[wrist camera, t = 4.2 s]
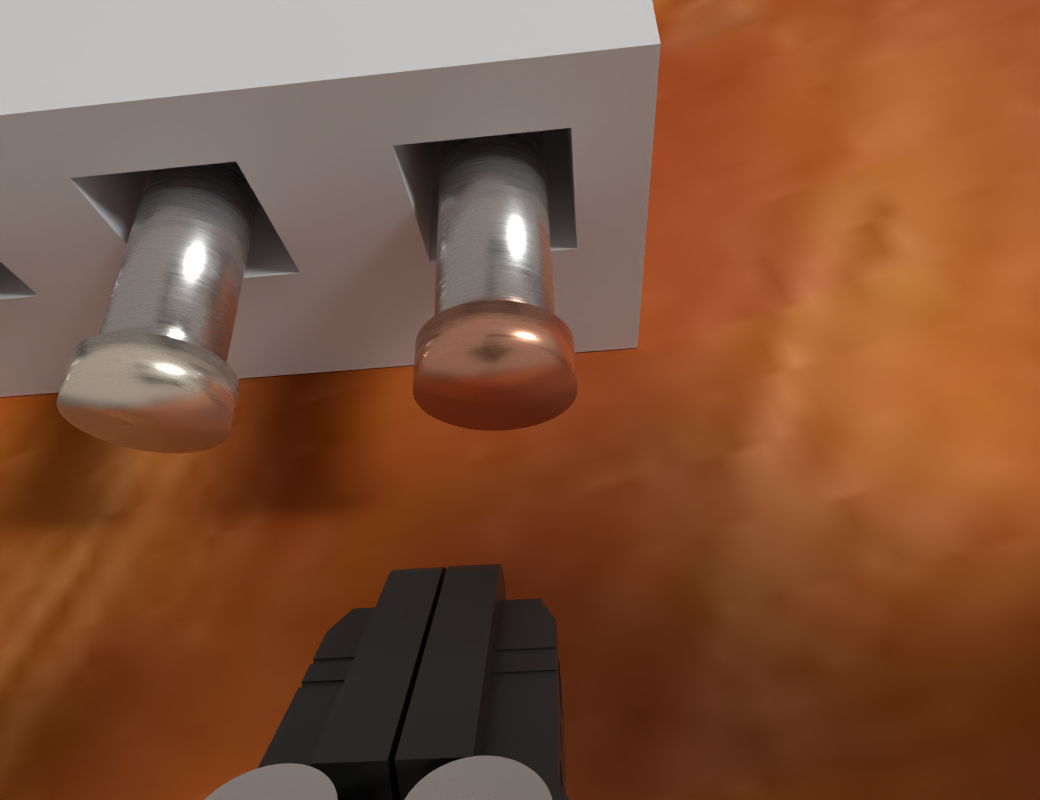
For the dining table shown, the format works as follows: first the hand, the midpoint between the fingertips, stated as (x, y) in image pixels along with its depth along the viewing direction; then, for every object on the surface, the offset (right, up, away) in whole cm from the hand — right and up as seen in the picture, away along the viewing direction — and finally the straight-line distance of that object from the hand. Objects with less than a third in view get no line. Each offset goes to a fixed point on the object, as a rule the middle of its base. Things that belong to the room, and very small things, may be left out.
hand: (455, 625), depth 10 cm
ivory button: (-8, +6, +10) cm, 14 cm away
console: (-7, +9, +19) cm, 22 cm away
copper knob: (0, +6, +10) cm, 12 cm away
